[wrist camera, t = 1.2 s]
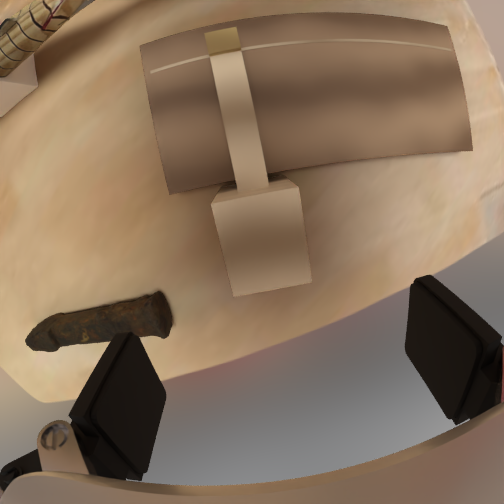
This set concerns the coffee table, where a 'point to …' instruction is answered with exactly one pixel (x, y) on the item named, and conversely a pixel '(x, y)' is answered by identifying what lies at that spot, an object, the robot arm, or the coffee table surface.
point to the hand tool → (103, 324)
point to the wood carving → (28, 45)
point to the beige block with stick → (253, 189)
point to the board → (309, 93)
